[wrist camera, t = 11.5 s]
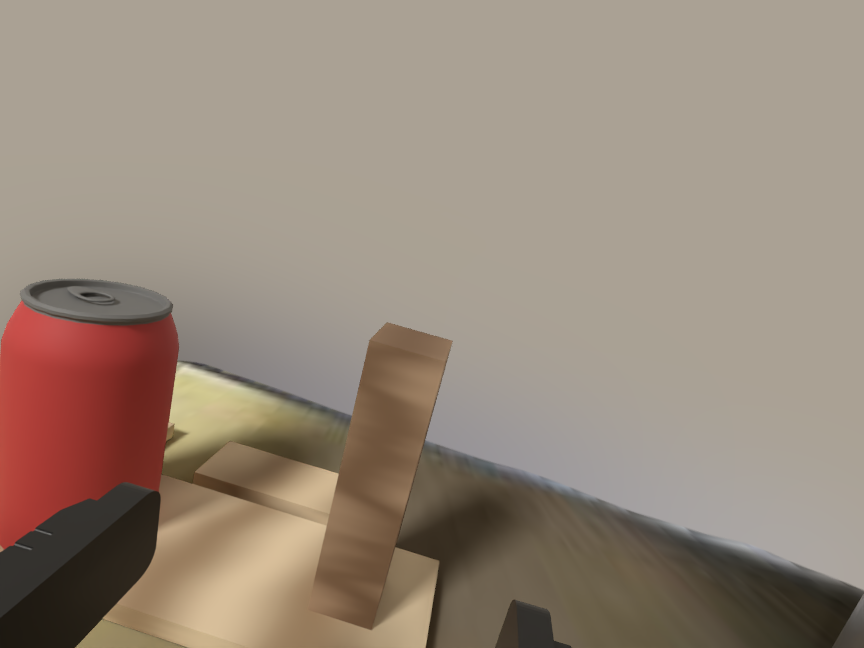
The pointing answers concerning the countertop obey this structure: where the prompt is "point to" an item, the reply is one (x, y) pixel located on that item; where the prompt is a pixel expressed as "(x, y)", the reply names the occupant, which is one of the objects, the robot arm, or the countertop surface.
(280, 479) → the broken strip
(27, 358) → the beer can
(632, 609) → the countertop surface
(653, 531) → the countertop surface
